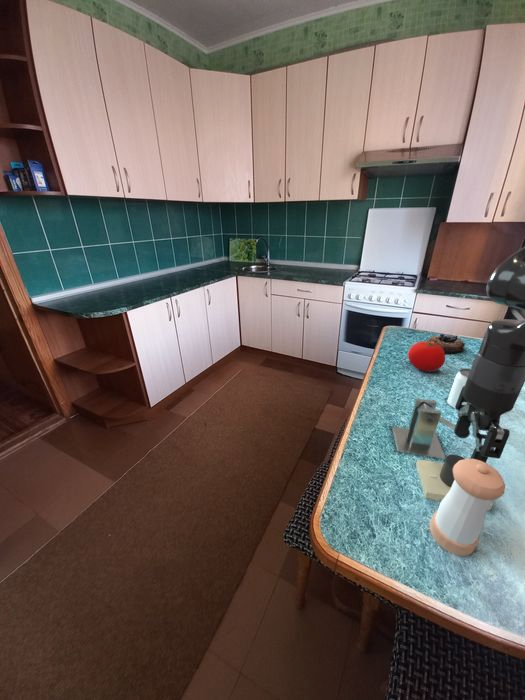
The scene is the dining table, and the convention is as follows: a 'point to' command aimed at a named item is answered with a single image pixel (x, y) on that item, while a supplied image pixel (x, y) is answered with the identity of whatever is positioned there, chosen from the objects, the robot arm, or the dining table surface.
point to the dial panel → (433, 480)
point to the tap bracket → (420, 432)
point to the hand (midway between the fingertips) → (467, 447)
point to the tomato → (426, 356)
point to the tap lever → (445, 422)
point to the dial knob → (449, 469)
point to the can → (458, 387)
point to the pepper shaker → (466, 506)
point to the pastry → (449, 343)
